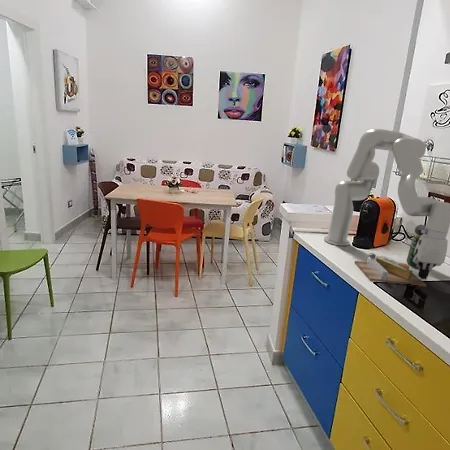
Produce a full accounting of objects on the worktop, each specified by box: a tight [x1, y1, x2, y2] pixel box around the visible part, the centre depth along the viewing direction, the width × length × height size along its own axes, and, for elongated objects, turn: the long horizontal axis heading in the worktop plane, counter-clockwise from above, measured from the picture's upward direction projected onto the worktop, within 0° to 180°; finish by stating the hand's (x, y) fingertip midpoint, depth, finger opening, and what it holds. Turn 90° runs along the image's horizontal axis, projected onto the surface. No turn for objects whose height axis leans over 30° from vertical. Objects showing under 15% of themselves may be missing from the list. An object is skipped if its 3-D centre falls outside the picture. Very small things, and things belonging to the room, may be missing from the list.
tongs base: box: [366, 252, 388, 281], centre depth 143 cm, size 18×3×4 cm, turn 179°
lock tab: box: [398, 262, 410, 270], centre depth 145 cm, size 3×3×4 cm
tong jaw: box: [375, 256, 413, 280], centre depth 144 cm, size 15×2×4 cm, turn 34°
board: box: [354, 260, 427, 288], centre depth 144 cm, size 18×22×2 cm
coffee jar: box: [406, 224, 426, 270], centre depth 156 cm, size 10×8×19 cm
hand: (422, 277), depth 139 cm, fingers closed
